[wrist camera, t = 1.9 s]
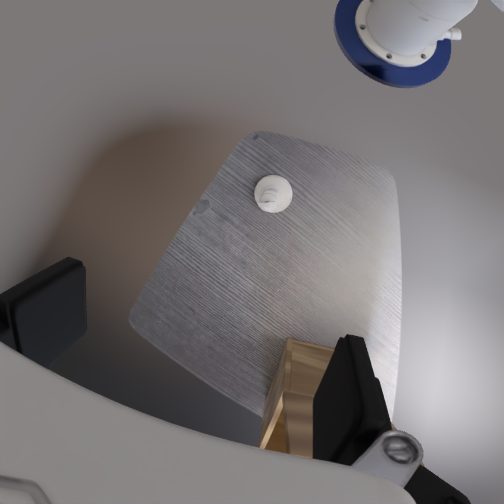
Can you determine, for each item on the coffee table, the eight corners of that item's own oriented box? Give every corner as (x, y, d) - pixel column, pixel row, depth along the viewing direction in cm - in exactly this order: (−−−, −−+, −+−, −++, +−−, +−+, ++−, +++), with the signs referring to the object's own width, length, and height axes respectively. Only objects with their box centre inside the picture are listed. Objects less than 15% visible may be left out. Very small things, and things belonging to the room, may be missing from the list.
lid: (421, 471, 20) (424, 465, 20) (286, 461, 21) (289, 453, 21) (377, 412, 34) (379, 407, 34) (281, 396, 35) (283, 390, 35)
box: (334, 413, 51) (337, 466, 39) (265, 399, 52) (256, 453, 40) (364, 354, 46) (378, 407, 35) (287, 337, 47) (282, 390, 36)
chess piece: (294, 210, 42) (292, 227, 32) (256, 213, 43) (244, 230, 33) (290, 173, 40) (288, 178, 31) (252, 176, 41) (238, 182, 32)
